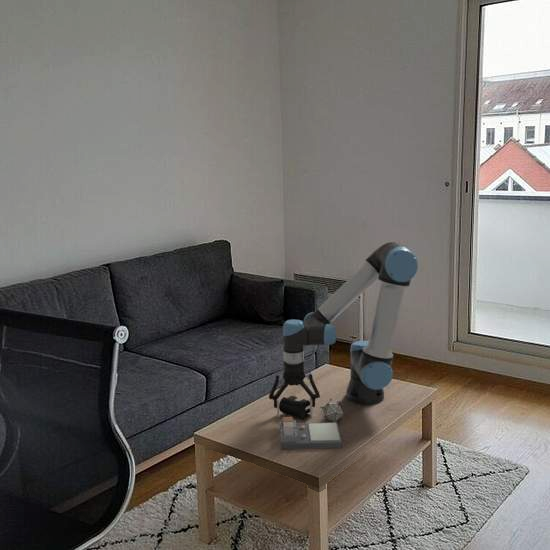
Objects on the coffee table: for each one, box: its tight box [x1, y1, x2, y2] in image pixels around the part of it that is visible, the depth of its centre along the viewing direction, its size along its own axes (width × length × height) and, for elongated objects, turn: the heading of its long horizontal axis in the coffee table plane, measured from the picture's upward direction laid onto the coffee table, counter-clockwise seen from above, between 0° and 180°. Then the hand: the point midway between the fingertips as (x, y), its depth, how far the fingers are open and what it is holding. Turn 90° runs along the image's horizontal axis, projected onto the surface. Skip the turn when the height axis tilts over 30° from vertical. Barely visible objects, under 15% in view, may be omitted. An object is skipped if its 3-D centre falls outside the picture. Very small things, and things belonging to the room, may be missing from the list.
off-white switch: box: [283, 422, 294, 436], centre depth 230 cm, size 4×4×4 cm
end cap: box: [279, 395, 311, 421], centre depth 251 cm, size 10×7×7 cm
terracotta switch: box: [282, 416, 294, 422], centre depth 237 cm, size 4×4×4 cm
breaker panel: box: [279, 419, 343, 450], centre depth 234 cm, size 21×16×4 cm
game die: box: [320, 398, 346, 422], centre depth 246 cm, size 9×8×10 cm
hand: (294, 415), depth 252 cm, fingers closed on end cap, 12 cm apart
